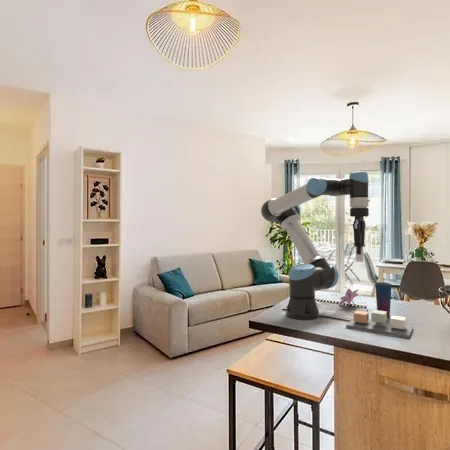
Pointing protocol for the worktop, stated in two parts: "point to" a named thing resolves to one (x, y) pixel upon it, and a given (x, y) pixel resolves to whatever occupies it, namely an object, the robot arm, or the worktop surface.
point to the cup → (383, 296)
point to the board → (380, 328)
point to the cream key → (398, 322)
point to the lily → (349, 296)
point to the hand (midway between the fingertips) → (359, 261)
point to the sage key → (379, 316)
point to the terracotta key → (361, 316)
